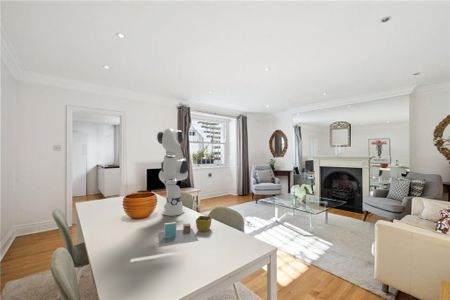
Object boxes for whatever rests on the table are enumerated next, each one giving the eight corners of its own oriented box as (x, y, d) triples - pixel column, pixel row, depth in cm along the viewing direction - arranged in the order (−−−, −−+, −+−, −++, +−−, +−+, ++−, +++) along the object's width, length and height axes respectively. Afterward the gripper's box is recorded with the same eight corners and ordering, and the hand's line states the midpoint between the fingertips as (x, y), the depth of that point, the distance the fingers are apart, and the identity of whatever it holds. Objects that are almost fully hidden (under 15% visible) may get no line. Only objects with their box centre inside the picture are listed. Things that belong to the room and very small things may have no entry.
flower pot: (208, 234, 127) (208, 220, 127) (195, 233, 129) (195, 219, 129) (211, 229, 136) (212, 216, 136) (199, 228, 137) (199, 215, 138)
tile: (164, 236, 121) (164, 223, 121) (176, 234, 124) (176, 222, 124) (164, 237, 120) (164, 224, 120) (176, 235, 122) (176, 222, 122)
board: (157, 234, 127) (157, 232, 127) (192, 230, 134) (192, 228, 134) (159, 248, 108) (159, 246, 108) (198, 242, 116) (198, 240, 116)
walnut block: (183, 230, 131) (183, 224, 131) (189, 229, 133) (189, 223, 133) (184, 232, 128) (184, 226, 128) (190, 231, 129) (190, 225, 129)
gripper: (163, 178, 137) (163, 198, 137) (166, 182, 118) (165, 205, 118) (173, 177, 140) (173, 197, 139) (176, 181, 120) (176, 204, 120)
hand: (169, 201), depth 129 cm, fingers open, 4 cm apart
